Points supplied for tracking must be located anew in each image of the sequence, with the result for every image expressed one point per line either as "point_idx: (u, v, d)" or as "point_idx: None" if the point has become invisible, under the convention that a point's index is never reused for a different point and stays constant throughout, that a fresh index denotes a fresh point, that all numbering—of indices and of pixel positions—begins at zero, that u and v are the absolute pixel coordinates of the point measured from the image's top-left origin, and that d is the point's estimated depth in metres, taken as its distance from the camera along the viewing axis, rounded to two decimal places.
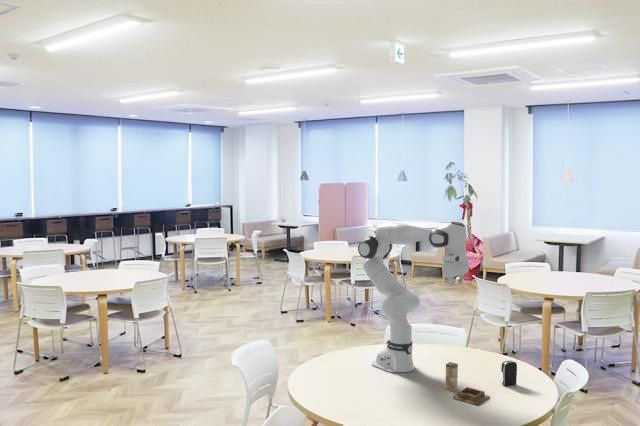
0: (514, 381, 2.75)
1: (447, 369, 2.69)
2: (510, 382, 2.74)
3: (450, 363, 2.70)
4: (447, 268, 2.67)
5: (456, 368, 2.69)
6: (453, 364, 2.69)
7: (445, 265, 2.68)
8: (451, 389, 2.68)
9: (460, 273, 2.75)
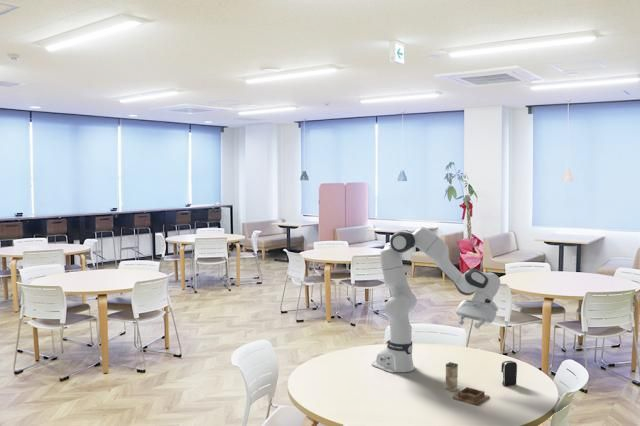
0: (514, 381, 2.75)
1: (447, 369, 2.69)
2: (510, 382, 2.74)
3: (450, 363, 2.70)
4: (494, 314, 2.72)
5: (456, 368, 2.69)
6: (453, 364, 2.69)
7: (493, 311, 2.72)
8: (451, 389, 2.68)
9: None
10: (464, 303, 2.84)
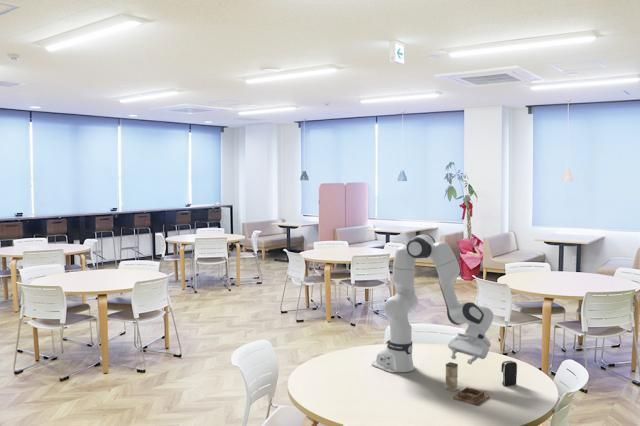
0: (514, 381, 2.75)
1: (447, 369, 2.69)
2: (510, 382, 2.74)
3: (450, 363, 2.70)
4: (487, 350, 2.70)
5: (456, 368, 2.69)
6: (453, 364, 2.69)
7: (486, 347, 2.70)
8: (451, 389, 2.68)
9: None
10: (457, 337, 2.82)
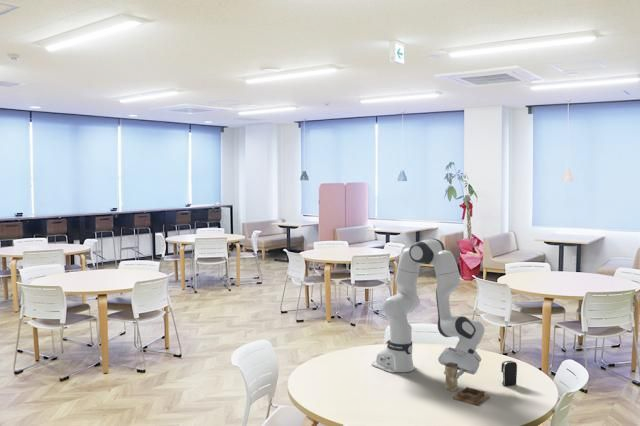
0: (514, 381, 2.75)
1: (447, 369, 2.69)
2: (510, 382, 2.74)
3: (450, 363, 2.70)
4: (477, 365, 2.66)
5: (456, 368, 2.69)
6: (453, 364, 2.69)
7: (476, 362, 2.66)
8: (451, 389, 2.68)
9: None
10: (447, 351, 2.78)
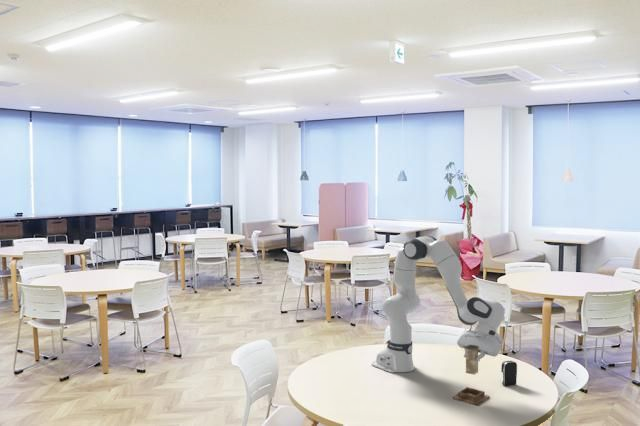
0: (514, 381, 2.75)
1: (467, 352, 2.57)
2: (510, 382, 2.74)
3: (470, 345, 2.59)
4: (499, 347, 2.54)
5: (477, 350, 2.57)
6: (473, 346, 2.57)
7: (498, 343, 2.54)
8: (472, 372, 2.56)
9: None
10: (466, 333, 2.67)
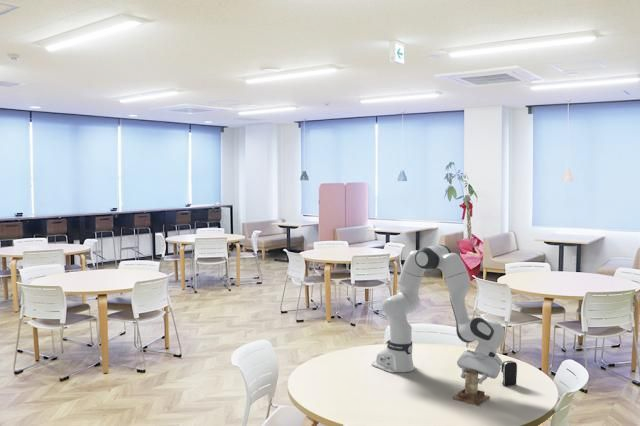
0: (514, 381, 2.75)
1: (467, 375, 2.58)
2: (510, 382, 2.74)
3: (470, 369, 2.59)
4: (498, 369, 2.55)
5: (476, 375, 2.58)
6: (473, 370, 2.58)
7: (498, 366, 2.55)
8: None
9: None
10: (466, 354, 2.67)
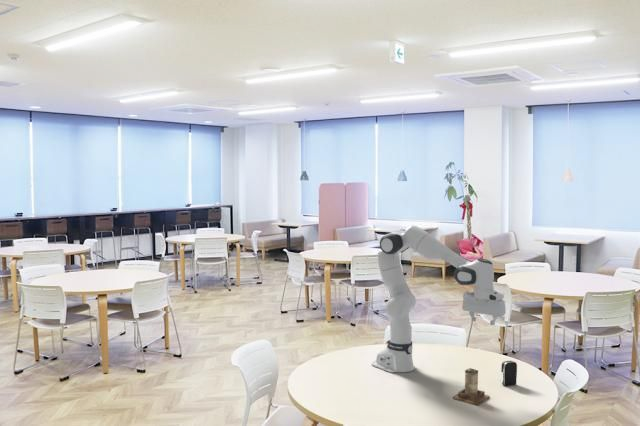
0: (514, 381, 2.75)
1: (466, 375, 2.58)
2: (510, 382, 2.74)
3: (470, 369, 2.59)
4: (504, 306, 2.63)
5: (476, 375, 2.58)
6: (473, 370, 2.58)
7: (502, 304, 2.62)
8: None
9: None
10: (467, 299, 2.72)
